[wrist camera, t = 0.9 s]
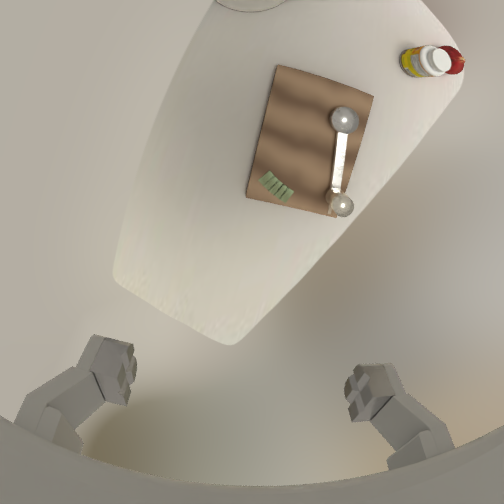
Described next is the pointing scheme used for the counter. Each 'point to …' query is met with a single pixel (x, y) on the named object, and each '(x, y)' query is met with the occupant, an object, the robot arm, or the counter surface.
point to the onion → (454, 60)
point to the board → (304, 140)
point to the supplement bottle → (425, 61)
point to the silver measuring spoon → (341, 159)
